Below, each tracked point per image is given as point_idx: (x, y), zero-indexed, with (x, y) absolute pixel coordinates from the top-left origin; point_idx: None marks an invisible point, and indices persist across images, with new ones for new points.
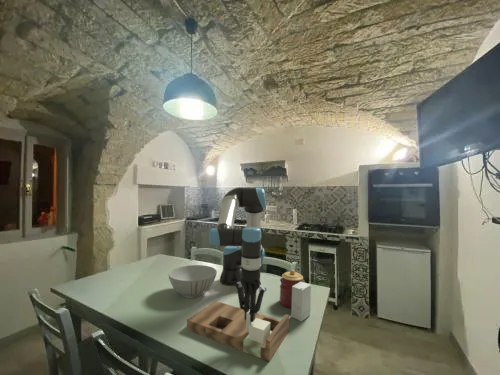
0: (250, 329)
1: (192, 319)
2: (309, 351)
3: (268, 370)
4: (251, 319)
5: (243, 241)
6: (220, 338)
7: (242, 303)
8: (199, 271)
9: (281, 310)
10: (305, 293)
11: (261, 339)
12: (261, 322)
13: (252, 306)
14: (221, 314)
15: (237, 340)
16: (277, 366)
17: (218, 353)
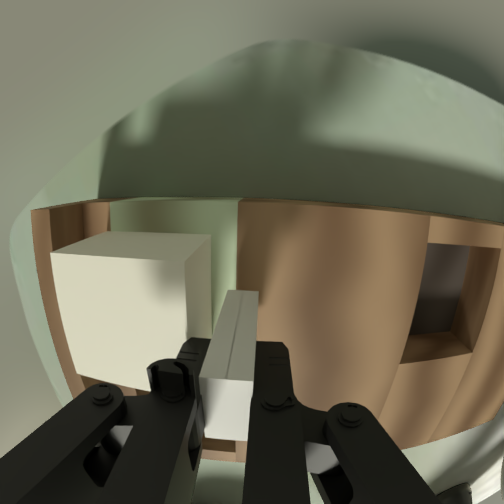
0: (176, 250)
1: None
2: (31, 329)
3: (85, 148)
4: (200, 350)
5: None
6: (406, 210)
7: (349, 476)
8: None
9: (227, 495)
10: None
11: (105, 236)
12: (118, 353)
13: (124, 456)
14: (466, 367)
15: (289, 202)
16: (65, 192)
17: (358, 123)
